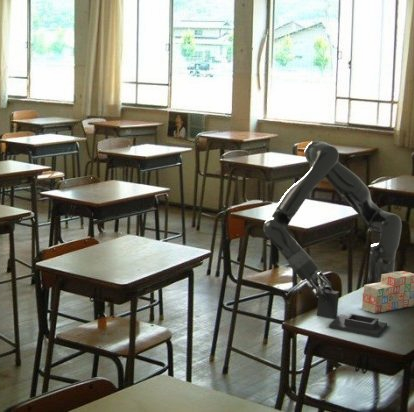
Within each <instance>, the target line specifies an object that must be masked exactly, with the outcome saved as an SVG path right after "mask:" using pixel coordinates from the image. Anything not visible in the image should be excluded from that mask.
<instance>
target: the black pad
mask: <svg viewBox="0 0 414 412" xmlns="http://www.w3.org/2000/svg"><path fill="white" fill-rule="evenodd" d="M332 290H333V289H332ZM332 290H326V289H322V291H323V294H325V295H326V296H327V298H328V299H329V300H330V303H329V304H327V305H325V304H324V303H323V302H322V301H321V299H320V298H319V297H317V298H318V300H317V311H316V316H317V317H322V318H323V317H324V318H328V319H334V320H335V319H336V318H337V317H338V309H339V308H338V307H339V306H338V305H339V296H340V291H338V290H333V291H332Z"/></svg>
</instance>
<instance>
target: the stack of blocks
mask: <svg viewBox="0 0 414 412" xmlns="http://www.w3.org/2000/svg"><path fill="white" fill-rule="evenodd" d="M409 307H414V273H412V272H408V271H404V270H400V271H398V270H397V271H394V272H392V273H386V274H382V276H381V282H379V283H373V284H368V285H367V284H364V285H363V293H362V303H361V309H362V310H363V311H364V310H365V311H367V312H370V313H373V314H378V313H384V312H388V311H389V312H390V311H394V310H399V309H404V308H409Z"/></svg>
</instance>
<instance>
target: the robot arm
mask: <svg viewBox="0 0 414 412" xmlns="http://www.w3.org/2000/svg"><path fill="white" fill-rule="evenodd" d="M304 157H305V159H306V161H307V162H308V163H309V164H310V165H311V168H310V169H309V171H308V172H307V173H306V174H305V175H304V176H303V177H302V178H301V179H300V180H298V181H297V182H296V183H294V184H293V185H292V186H291V187H290V188H289V189H287V191H286V192H285V193H284V195H283V196H282V197H281V199H280V201H279V202H278V204H277V206H276V209H275V211H274V212H273V214H271V217H270V218H269V219H267V220H266V221H265V222H264V224H263V226H262V227H263V228H262V229H263V233H264V235H265V236H266V237H267V239H268V240H270V241H271V243H272V244H273V246H275V247H276V248H277V249H278V251H279V252H280V254H281V255H282V256H283V258H284V259H285V260H286V261H287V263H288V265H289V266H290V268H291V269H292V270H293V272H294V273H295V274H296V275H297V276H298V278H299V279H300V280H301V281H305V280H306V282H304V285H305V287H307V289H308V290H309V291H310V293H311V294H312V296H313V297H314V298H318V297H319V298H320V299H321V301H322V302H323V303H324V304H325V305H327V304H329V303H330V300H329V299H328V298H327V296H326V295H325V294H323V291H322V289H326V290H332V291H334V290H333V288H332V283H331V281H330V280H329V279H328V278H327V277H326V275H325V273H323V272H322V271H320V272H318V271H319V267H320V266H318V265H317V264H316V263H315V261H314V260H313V258H312V257H311V256H310V255H309V254H308V253H307V251H305V250H304V249H303V247H302V246H301V245H300V244H299V243H298V241H297V240H296V239H295V238H294V237H292V236H291V234H290V232H289V231H288V230H287V228H288V226H289V224H290V223H291V221H292V219H293V218H294V217H295V216H296V214H297V212H298V211H299V210H300V208H301V207H302V205H303V203H304V202H305V201H306V199H307V198H308V197H309V195H310V194H311V193H312V191H314V189H315V188H316V187H317V186H318V185H319V184H320V183H321V182H322V180H324V179H326V180H327V181H328V183H329V184H330V185H331V186H332V188H333V189H334V190H335V191H336V192H337V193H338V194H339V196H340V197H341V198H342V199H343V200H344V201H345V202H346V203H347V204H348V205H349V206H350V207H351V208H352V209H353V210H354V211H355V212H356V213H357V214H358V215H359V217H360V218H361V219H362V221H363V222H364V223H365V224H366V226H367V228H368V229H369V230H370V231H371V232H372V233H373V234H376V235H378V236H379V241H378V242H377V243H373V244H371V245H370V250H369V258H368V259H369V260H368V270H367V280H366V281H367V282H366V285H368V284H373V283H379V282H381V276H382V274H386V273H392V272H395V266H396V255H397V250H398V248H399V246H400V241H401V236H402V235H401V234H402V228H403V224H402V218H401V217H400V216H399V215H398V214H396V213H392V212H389V211H385V210H382V209H381V208H379V206H377V204H376V203H374V201H373V200H372V197H371V191H370V189H369V188H368V186H367V185H366V184H365V182H363V181H362V179H361V178H360V177H359V176H358V175H357V174H355V173H354V172H353V171H351V170H350V169H349V168H348V167H346V166H344V165H343V164H342V163H341V162H340V161H339V157H340V153H339V150H338V148H336V147H335V146H333V145H331V144H329V143H327V142H325V141H320V140H315V141H311V142H310V143H308V144H307V146H306V148H305V150H304Z"/></svg>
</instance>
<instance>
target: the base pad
mask: <svg viewBox="0 0 414 412" xmlns="http://www.w3.org/2000/svg"><path fill="white" fill-rule="evenodd" d="M387 327H388V322H383V321H380V319H379V318H377V317H371V316H366V315H361V314H357V313H349V314H348V315H347V314H343V313H342V314H339V315H337V316H336V317H335V318H334V320H333V321H332V322H330V323H329V325H328V328H329V329H334V330H337V331H338V330H339V331H343V332H348V333H354V334H359V335H364V336H368V337H373V338H378V337H379V336H380V335H381V334H382V333H383V331H384V330H385V329H386V328H387Z"/></svg>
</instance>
